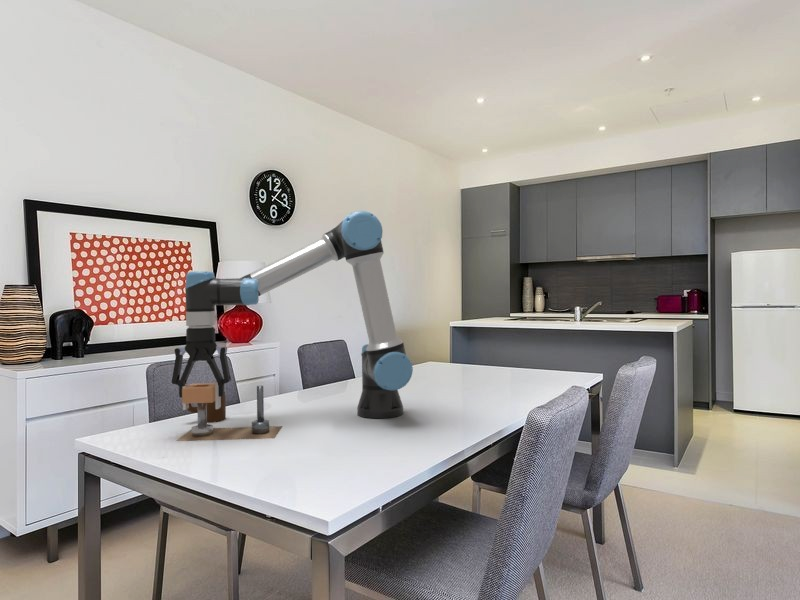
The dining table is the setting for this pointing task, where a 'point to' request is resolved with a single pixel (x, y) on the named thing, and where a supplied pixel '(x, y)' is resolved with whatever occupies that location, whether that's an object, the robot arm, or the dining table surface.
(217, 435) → the board
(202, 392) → the square wooden nut
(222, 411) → the mug
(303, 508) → the dining table surface
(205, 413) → the grey metal post
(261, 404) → the stand
